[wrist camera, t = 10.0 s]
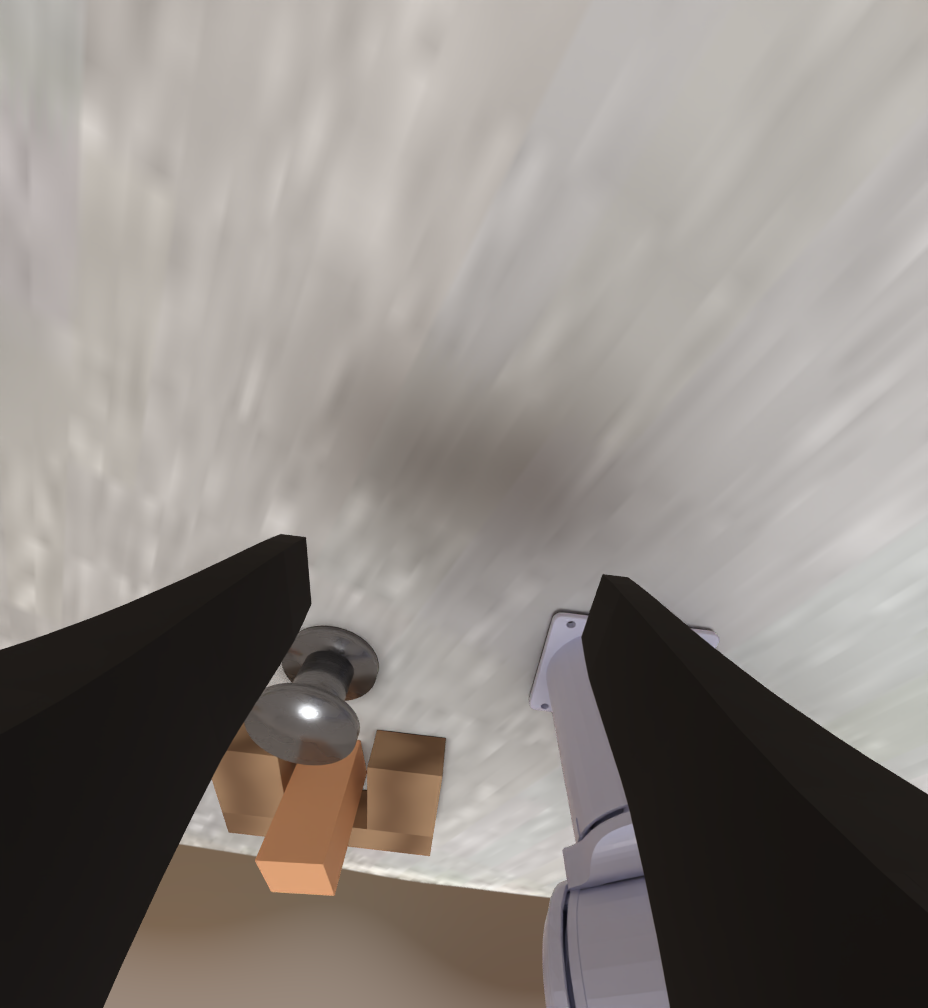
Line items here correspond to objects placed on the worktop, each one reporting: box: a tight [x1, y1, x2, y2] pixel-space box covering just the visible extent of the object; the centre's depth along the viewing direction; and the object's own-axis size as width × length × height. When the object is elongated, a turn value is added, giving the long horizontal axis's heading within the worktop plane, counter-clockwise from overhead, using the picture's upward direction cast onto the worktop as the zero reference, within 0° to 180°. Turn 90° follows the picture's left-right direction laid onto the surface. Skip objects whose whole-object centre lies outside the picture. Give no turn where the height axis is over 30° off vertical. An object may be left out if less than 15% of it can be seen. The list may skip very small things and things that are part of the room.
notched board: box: [212, 723, 446, 856], centre depth 28 cm, size 16×11×2 cm
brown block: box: [255, 740, 367, 896], centre depth 25 cm, size 4×4×7 cm
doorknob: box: [244, 626, 379, 765], centre depth 22 cm, size 6×6×5 cm
